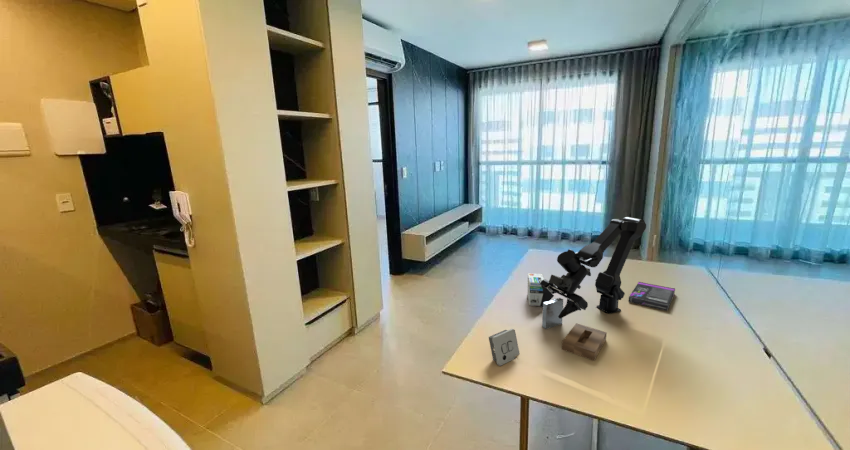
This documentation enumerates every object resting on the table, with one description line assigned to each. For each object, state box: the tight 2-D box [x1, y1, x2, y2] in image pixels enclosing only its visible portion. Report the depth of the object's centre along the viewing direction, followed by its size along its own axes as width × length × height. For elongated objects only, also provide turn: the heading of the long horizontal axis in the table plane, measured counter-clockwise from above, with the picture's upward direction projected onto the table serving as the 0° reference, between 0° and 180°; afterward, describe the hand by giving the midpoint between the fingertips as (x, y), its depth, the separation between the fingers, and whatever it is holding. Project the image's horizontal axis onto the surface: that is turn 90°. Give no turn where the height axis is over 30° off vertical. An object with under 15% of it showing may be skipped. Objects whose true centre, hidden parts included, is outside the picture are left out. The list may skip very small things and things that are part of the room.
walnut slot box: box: [561, 323, 608, 361], centre depth 113 cm, size 14×10×4 cm
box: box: [628, 281, 676, 312], centre depth 144 cm, size 14×4×20 cm
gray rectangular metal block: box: [541, 297, 564, 330], centre depth 124 cm, size 8×2×11 cm, turn 114°
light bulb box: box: [526, 272, 545, 307], centre depth 146 cm, size 11×7×11 cm, turn 168°
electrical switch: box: [488, 328, 520, 366], centre depth 109 cm, size 9×5×9 cm, turn 121°
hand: (549, 312), depth 124 cm, fingers open, 9 cm apart
